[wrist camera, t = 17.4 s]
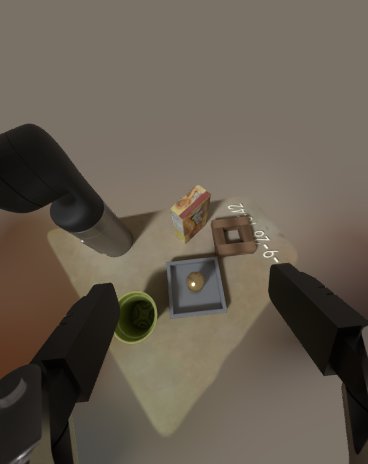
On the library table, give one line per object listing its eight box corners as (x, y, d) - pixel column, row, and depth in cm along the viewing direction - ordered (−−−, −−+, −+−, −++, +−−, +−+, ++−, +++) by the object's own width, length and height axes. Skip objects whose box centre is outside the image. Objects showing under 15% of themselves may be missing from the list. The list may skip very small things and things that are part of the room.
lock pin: (189, 295, 42) (187, 291, 31) (187, 281, 44) (185, 272, 33) (202, 293, 42) (205, 289, 31) (200, 279, 44) (202, 270, 33)
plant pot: (165, 294, 43) (158, 291, 35) (162, 337, 40) (154, 344, 32) (129, 293, 44) (115, 290, 36) (123, 335, 40) (105, 343, 32)
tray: (171, 317, 41) (170, 318, 38) (168, 264, 46) (166, 262, 44) (225, 311, 41) (227, 312, 38) (215, 259, 46) (216, 256, 44)
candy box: (196, 216, 52) (197, 183, 38) (206, 224, 51) (211, 193, 37) (175, 235, 50) (168, 208, 36) (185, 245, 48) (183, 220, 34)
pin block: (216, 257, 46) (218, 254, 44) (210, 224, 51) (211, 220, 48) (253, 253, 46) (257, 249, 44) (244, 221, 51) (247, 216, 48)
